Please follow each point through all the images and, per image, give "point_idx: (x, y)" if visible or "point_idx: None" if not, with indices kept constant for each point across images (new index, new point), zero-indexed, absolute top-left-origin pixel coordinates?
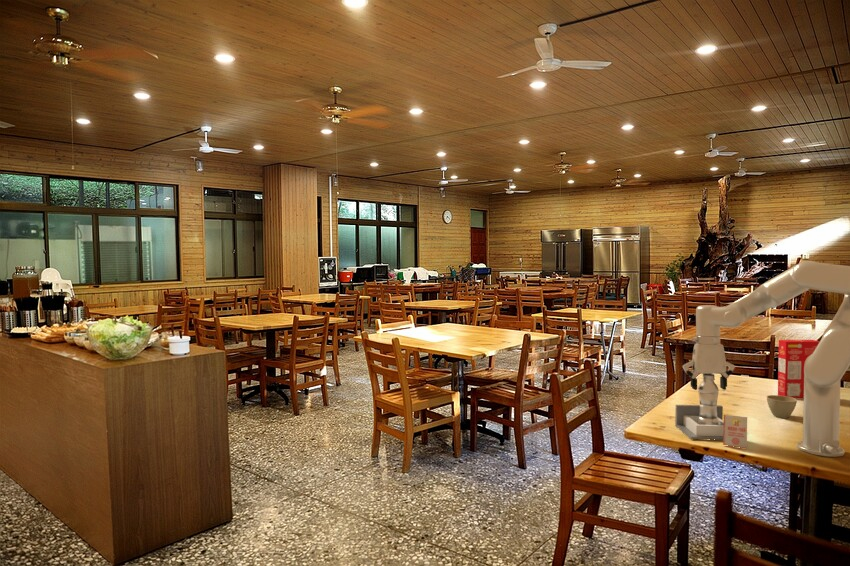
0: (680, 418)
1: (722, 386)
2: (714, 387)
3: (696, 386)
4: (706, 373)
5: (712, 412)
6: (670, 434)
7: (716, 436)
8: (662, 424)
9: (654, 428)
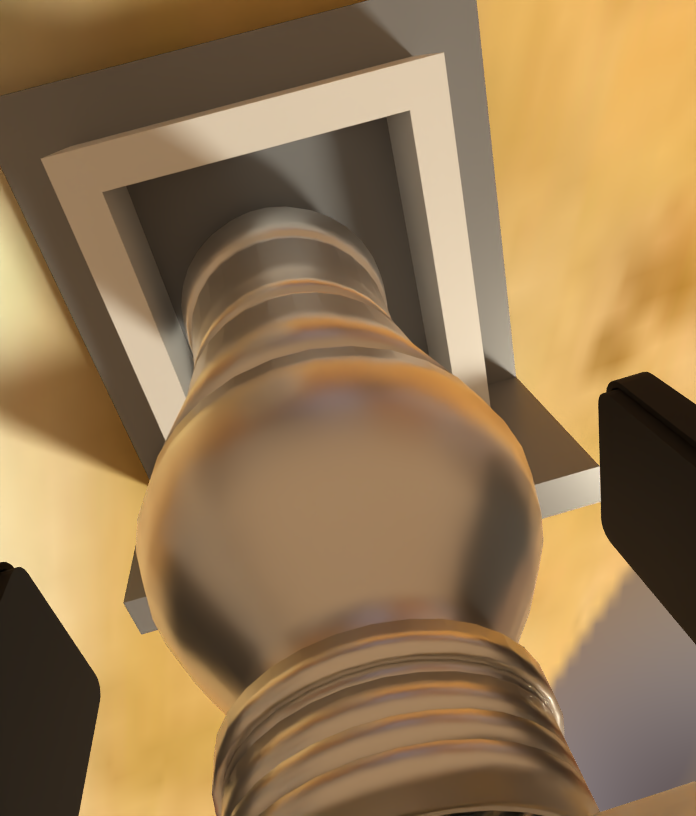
0: (507, 409)
1: (38, 654)
2: (231, 481)
3: (661, 413)
4: (675, 800)
5: (254, 274)
6: (609, 130)
7: (215, 89)
8: (594, 409)
9: (689, 277)
